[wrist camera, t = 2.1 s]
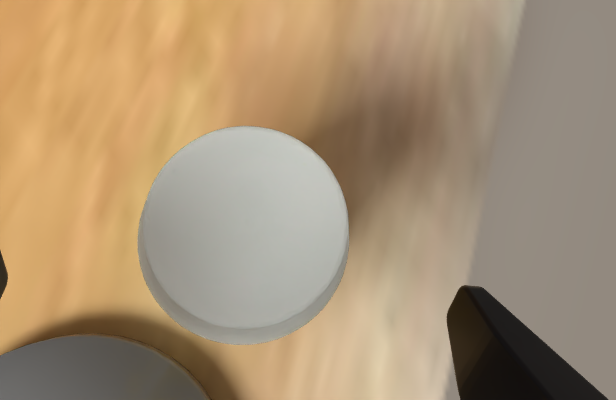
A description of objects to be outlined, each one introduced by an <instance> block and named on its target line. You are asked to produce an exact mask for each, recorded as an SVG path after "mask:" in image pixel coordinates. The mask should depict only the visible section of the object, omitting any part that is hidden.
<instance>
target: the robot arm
mask: <svg viewBox="0 0 616 400" xmlns="http://www.w3.org/2000/svg"><path fill="white" fill-rule="evenodd" d="M7 280H8V274H7V270H6V267H5V264H4V260H3V257H2V254H1V251H0V299H1V297H2V294H3V292H4V290H5V288H6V285H7ZM447 327H448V333H449V339H450V345H451V351H452V357H453V363H454V369H455V375H456V381H457V386H458V392H459V396H460V400H608V399H607V398H606V397H605V396H604V395H603V394H602V393H600V392H599V391H598V390H597V389H596V388H595V387H594V386H593V385H591V384H590V383H589V382H588V381H587V380H586V379H585V378H584V377H583V376H581V375H580V374H579V373H578V372H577V371H576V370H575V369H574V368H572V367H571V366H570V365H569V364H568V363H567V362H566V361H565V360H564V359H562V358H561V357H560V356H559V355H558V354H556V352H555V351H553V350H552V349H551V348H550V347H549V346H548V345H547V344H546V343H544V342H543V341H542V340H541V339H540V338H539V337H538V336H537V335H535V334H534V333H533V332H532V331H531V330H530V329H529V328H528V327H526V326H525V325H524V324H523V323H522V322H521V321H520V320H519V319H517V318H516V317H515V316H514V315H513V314H512V313H511V312H510V311H508V310H507V309H506V308H505V307H504V306H503V305H502V304H501V303H500V302H498V301H497V300H496V299H495V298H494V297H493V296H492V295H491V294H489V293H488V292H487V291H486V290H485V289H484V288H482V287H479V286H468V285H464V286H461V287H460V288H459V290H458V292H457V294H456V296H455V298H454V300H453V302H452V304H451V306H450V308H449V310H448V313H447Z"/></svg>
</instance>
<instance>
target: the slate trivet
mask: <svg viewBox="0 0 616 400" xmlns="http://www.w3.org/2000/svg"><path fill="white" fill-rule="evenodd" d="M0 400H211V398H210V397H209V395H208V394H207V392H206V391H205V389H204V388H203V387H202V385H201V384H200V383H199V382H198V381H197V380H196V379H195V377H194V376H193V375H192V374H191V373H190V372H189V371H188V370H187V369H185V368H184V367H183V366H182V365H181V364H179V363H178V362H177V361H176V360H175V359H173V358H171V357H170V356H168V355H167V354H165V353H163V352H162V351H160V350H158V349H156V348H154V347H152V346H149V345H147V344H145V343H142V342H140V341H136V340H133V339H129V338H126V337H122V336H115V335H108V334H74V335H66V336H59V337H55V338H51V339H47V340H43V341H39V342H36V343H32V344H29V345H26V346H23V347H21V348H18V349H15V350H13V351H10V352H7V353H5V354H3V355H1V356H0Z"/></svg>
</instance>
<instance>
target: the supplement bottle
mask: <svg viewBox="0 0 616 400" xmlns="http://www.w3.org/2000/svg"><path fill="white" fill-rule="evenodd" d="M348 249H349V222H348V210H347V206H346V202H345V198H344V195H343V192H342V189H341V187H340V185H339V183H338V181H337V179H336V177H335V176H334V174H333V172H332V171H331V169H330V168H329V166H328V165H327V164H326V163H325V161H324V160H323V159H322V158H321V157H320V156H319V155H318V154H317V153H316V152H315V151H313V150H312V149H311V148H310V147H308V146H307V145H306V144H304V143H303V142H301V141H299V140H298V139H296V138H294V137H292V136H290V135H288V134H285V133H282V132H280V131H277V130H274V129H268V128H263V127H256V126H236V127H228V128H224V129H220V130H216V131H213V132H210V133H208V134H205V135H203V136H201V137H199V138H197V139H195V140H194V141H192V142H190V143H189V144H187V145H186V146H185V147H183V148H181V149H180V150H179V151H178V152H177V153H176V154H175V155H174V156H173V157H172V158H171V159H170V160H169V161H168V162H167V163H166V164H165V166H164V167H163V168H162V169H161V171H160V172H159V174H158V175H157V177H156V179H155V180H154V182H153V184H152V187H151V189H150V191H149V194H148V197H147V200H146V202H145V205H144V208H143V211H142V214H141V218H140V222H139V229H138V255H139V261H140V266H141V270H142V273H143V277H144V279H145V281H146V284H147V286H148V288H149V290H150V292H151V293H152V295H153V297H154V298H155V300H156V301H157V303H158V304H159V305H160V307H161V308H162V309H163V310H164V311H165V312H166V313H167V314H168V315H169V316H170V317H171V318H172V319H173V320H174V321H175V322H177V323H178V324H179V325H181V326H182V327H184V328H185V329H187V330H189V331H190V332H192V333H194V334H196V335H199V336H201V337H203V338H206V339H209V340H212V341H215V342H220V343H225V344H233V345H251V344H259V343H265V342H269V341H273V340H276V339H279V338H281V337H284V336H286V335H289V334H290V333H292V332H294V331H296V330H298V329H299V328H301V327H302V326H304V325H306V324H307V323H308V322H309V321H310V320H312V319H313V318H314V317H315V316H316V315H317V314H318V313H319V312H320V311H321V310H322V309H323V308H324V307H325V306H326V304H327V303H328V301H329V300H330V299H331V297H332V296H333V294H334V292H335V291H336V289H337V287H338V285H339V283H340V281H341V278H342V276H343V273H344V270H345V266H346V263H347V257H348Z"/></svg>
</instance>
